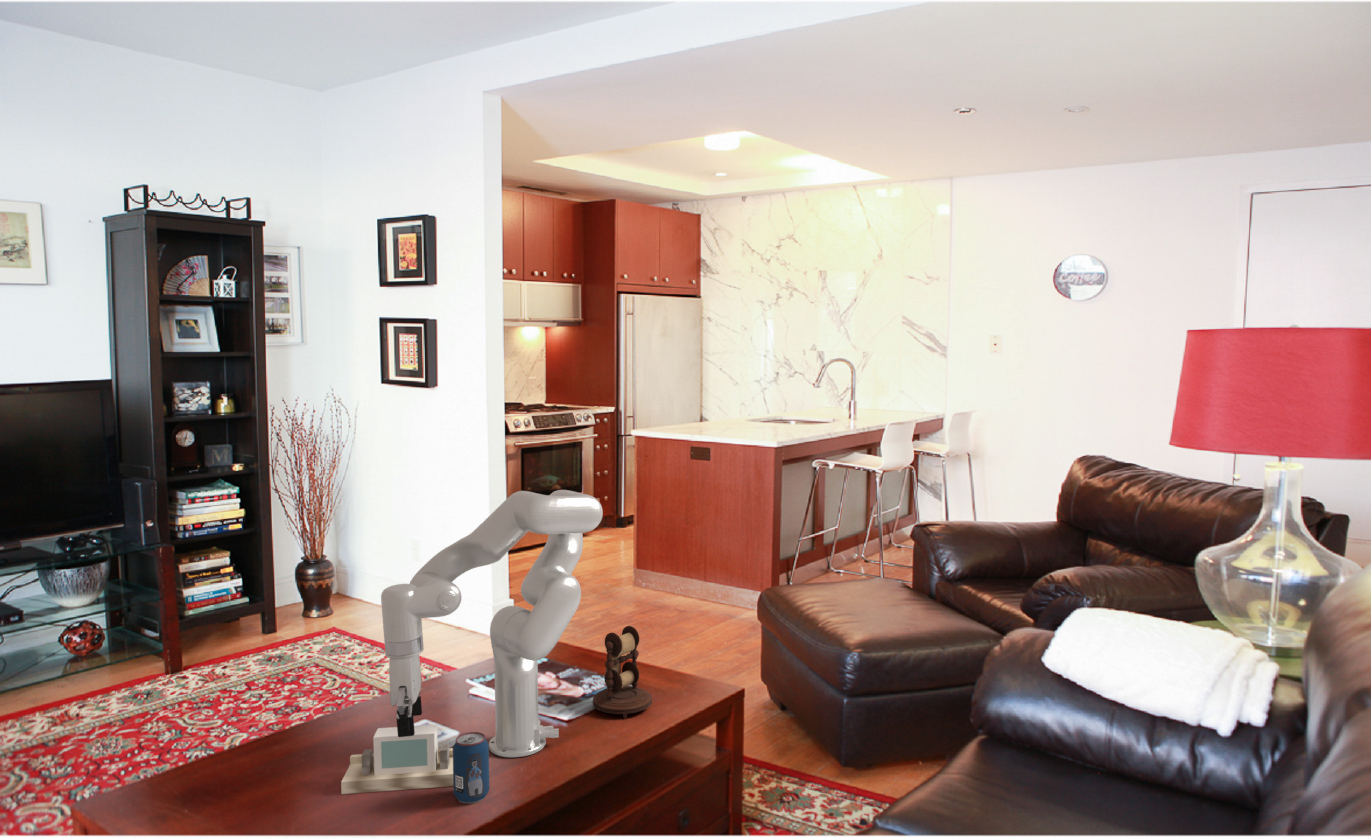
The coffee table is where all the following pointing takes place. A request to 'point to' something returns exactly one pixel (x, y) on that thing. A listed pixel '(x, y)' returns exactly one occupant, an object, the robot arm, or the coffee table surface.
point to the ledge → (395, 775)
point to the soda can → (471, 767)
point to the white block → (405, 751)
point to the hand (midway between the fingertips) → (410, 725)
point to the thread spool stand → (622, 676)
